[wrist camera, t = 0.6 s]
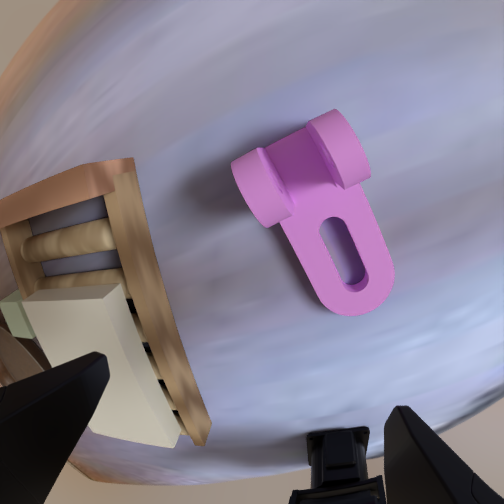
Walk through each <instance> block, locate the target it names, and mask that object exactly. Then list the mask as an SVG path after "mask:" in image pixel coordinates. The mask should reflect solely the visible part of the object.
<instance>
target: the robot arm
mask: <svg viewBox="0 0 504 504" xmlns="http://www.w3.org/2000/svg"><path fill="white" fill-rule="evenodd" d="M109 379H110V370H109V365H108V360H107V357H106V355H105V354H102V353H100V352H97V351H93V352H91V353H88V354H86V355H83V356H81V357H78V358H76V359H73V360H71V361H68V362H66V363H63V364H61V365H58V366H56V367H53V368H50V369H48V370H45V371H43V372H40V373H38V374H35V375H32V376H30V377H27V378H25V379H22V380H19V381H17V382H14V383H11V384H9V385H7V386H3V387H0V504H44V502H45V500H46V498H47V496H48V494H49V492H50V491H51V489H52V487H53V485H54V483H55V481H56V479H57V477H58V476H59V474H60V472H61V470H62V469H63V467H64V465H65V463H66V461H67V460H68V458H69V456H70V454H71V453H72V451H73V449H74V447H75V446H76V444H77V442H78V440H79V439H80V437H81V435H82V434H83V432H84V430H85V428H86V427H87V425H88V423H89V422H90V420H91V418H92V416H93V414H94V412H95V410H96V408H97V406H98V404H99V401H100V399H101V397H102V395H103V393H104V390H105V388H106V386H107V384H108V382H109ZM369 434H370V430H369V428H368V427H363V428H356V429H348V430H340V431H331V432H321V433H310V434H308V435H307V450H308V462H309V465H310V466H311V489H306V490H293V491H292V495H291V497H290V500H289V504H386V498H385V491H384V485H383V480H382V475H379V476H377V477H374V478H370V479H368V472H367V464H366V451H367V446H368V440H369ZM384 474H385V484H386V497H387V504H504V499H503V498H502V497H501V496H500V495H498V494H497V493H496V492H495V491H494V490H492V489H491V488H490V487H489V486H488V485H487V484H486V483H485V482H484V481H483V480H482V479H481V478H480V477H479V476H478V475H477V474H476V473H473V470H472V469H471V468H470V467H469V466H468V465H467V464H466V463H465V462H464V461H463V460H462V459H461V458H460V457H459V456H458V455H457V454H456V453H455V452H454V451H453V450H452V449H451V448H450V447H449V446H448V445H447V444H446V443H445V442H444V441H443V440H442V439H441V438H440V437H439V436H438V435H437V434H436V433H435V432H434V431H433V430H432V429H431V428H430V427H429V426H428V425H427V424H426V423H425V422H424V421H423V420H422V419H421V418H420V417H419V416H418V415H417V414H416V413H415V412H414V411H413V410H412V409H411V408H410V407H409V406H396V407H394V409H393V411H392V412H391V414H390V416H389V417H388V419H387V421H386V423H385V426H384Z"/></svg>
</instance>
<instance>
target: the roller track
mask: <svg viewBox="0 0 504 504" xmlns="http://www.w3.org/2000/svg"><path fill="white" fill-rule="evenodd" d="M100 195H104V199H105V203H106V207H107V212H108V216H109V217H108V218H104V219H99V220H95V221H91V222H86V223H82V224H78V225H74V226H70V227H66V228H62V229H58V230H54V231H50V232H46V233H43V234H39V235H35V236H33V235H32V231H31V228H30V224H29V220H28V218H31V217H33V216H36V215H39V214H42V213H45V212H49V211H52V210H55V209H58V208H61V207H64V206H68V205H71V204H74V203H78V202H81V201H84V200H88V199H91V198H94V197H97V196H100ZM0 231H1V235H2V239H3V242H4V246H5V249H6V253H7V256H8V259H9V262H10V265H11V268H12V271H13V274H14V277H15V280H16V283H17V286H18V288H19V291H20V294H21V296H22V299H23V300H25V299H26V298H27V297H29V296H30V295H32V294H33V293H35V292H36V291H38V290H43V289H56V288H69V287H82V286H94V285H106V284H117V283H121V286H122V289H123V292H124V295H125V298H126V299H131V298H132V299H133V302H134V305H135V308H136V311H137V313H131V315H132V318H133V321H134V324H135V326H136V329H137V332H138V334H139V337H140V339H141V342H148V343H149V346H150V348H151V351H152V352H146V354H147V357H148V359H149V362H150V364H151V366H152V369H153V371H154V373H155V375H156V378H157V379H163V380H164V382H165V384H166V385H160V387H161V389H162V391H163V393H164V395H165V397H166V400H167V402H168V404H169V406H170V408H171V410H178V412H179V413H177V412H173V414H174V416H175V418H176V420H177V422H178V424H179V426H180V428H181V432H180V435H189V436H190V437H191V439H192V440H193V442H194V444H195V445H197V446H205V443H206V440H207V437H208V434H209V431H210V428H211V424H212V422H211V420H210V417H209V415H208V412H207V410H206V408H205V405H204V402H203V400H202V397H201V395H200V392H199V390H198V387H197V384H196V382H195V379H194V376H193V373H192V371H191V368H190V365H189V362H188V359H187V357H186V354H185V351H184V348H183V345H182V342H181V339H180V336H179V333H178V330H177V327H176V324H175V321H174V318H173V314H172V311H171V308H170V305H169V301H168V298H167V295H166V291H165V288H164V284H163V281H162V277H161V274H160V270H159V267H158V263H157V259H156V256H155V252H154V248H153V244H152V240H151V236H150V232H149V228H148V224H147V220H146V215H145V211H144V207H143V202H142V198H141V193H140V188H139V184H138V179H137V174H136V169H135V163H134V158H133V157H132V158H124V159H116V160H109V161H101V162H95V163H88V164H82V165H80V166H77V167H74V168H72V169H69V170H67V171H64V172H62V173H59V174H57V175H54V176H52V177H49V178H47V179H45V180H42V181H40V182H38V183H35V184H33V185H31V186H29V187H26V188H24V189H22V190H20V191H18V192H16V193H13V194H11V195H9V196H7V197H5V198H3V199H1V200H0ZM114 249H117V250H118V254H119V257H120V261H121V264H122V267H123V268H116V269H108V270H99V271H91V272H82V273H74V274H65V275H57V276H48V277H45V274H44V271H43V268H42V265H41V261H47V260H52V259H58V258H64V257H70V256H76V255H82V254H89V253H95V252H101V251H107V250H114Z"/></svg>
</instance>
